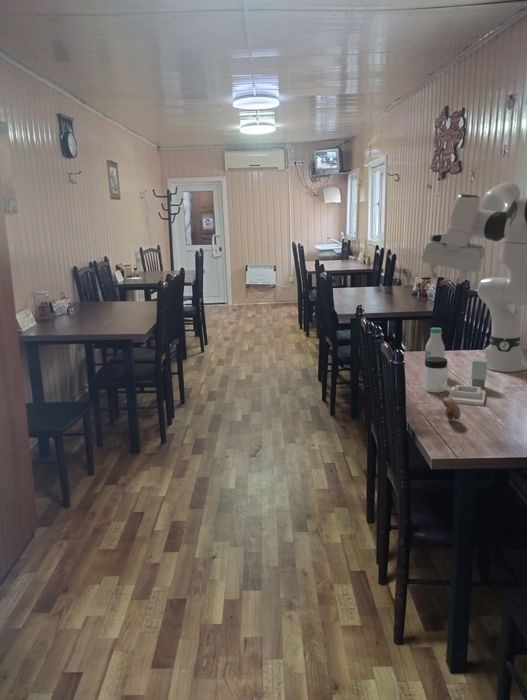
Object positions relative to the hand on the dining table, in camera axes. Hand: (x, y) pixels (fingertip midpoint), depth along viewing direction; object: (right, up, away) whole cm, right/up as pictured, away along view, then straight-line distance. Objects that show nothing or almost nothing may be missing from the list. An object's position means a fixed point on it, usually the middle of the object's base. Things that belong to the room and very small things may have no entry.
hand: (445, 280), depth 196 cm
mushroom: (-3, -47, -15) cm, 50 cm away
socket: (+11, -41, +9) cm, 44 cm away
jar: (+2, -40, +19) cm, 44 cm away
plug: (+19, -39, +20) cm, 48 cm away
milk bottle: (+7, -35, +38) cm, 52 cm away
